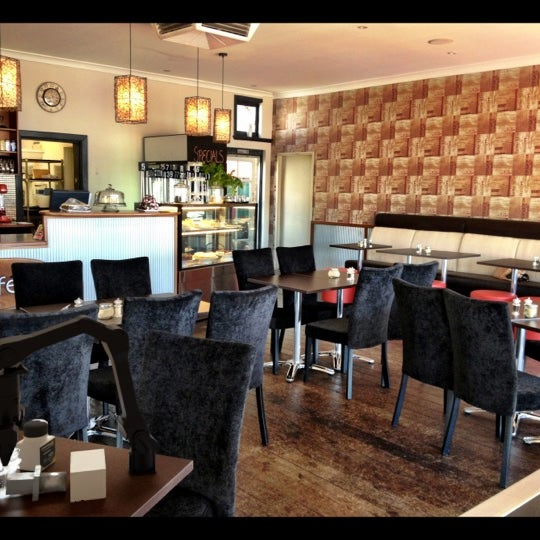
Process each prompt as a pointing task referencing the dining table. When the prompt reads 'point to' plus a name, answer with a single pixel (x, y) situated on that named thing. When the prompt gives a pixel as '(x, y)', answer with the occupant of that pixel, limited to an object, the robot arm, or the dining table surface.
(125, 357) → the robot arm
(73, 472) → the block
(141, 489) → the dining table surface
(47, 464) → the medicine bottle
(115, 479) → the dining table surface
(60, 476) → the grey flanged bar
